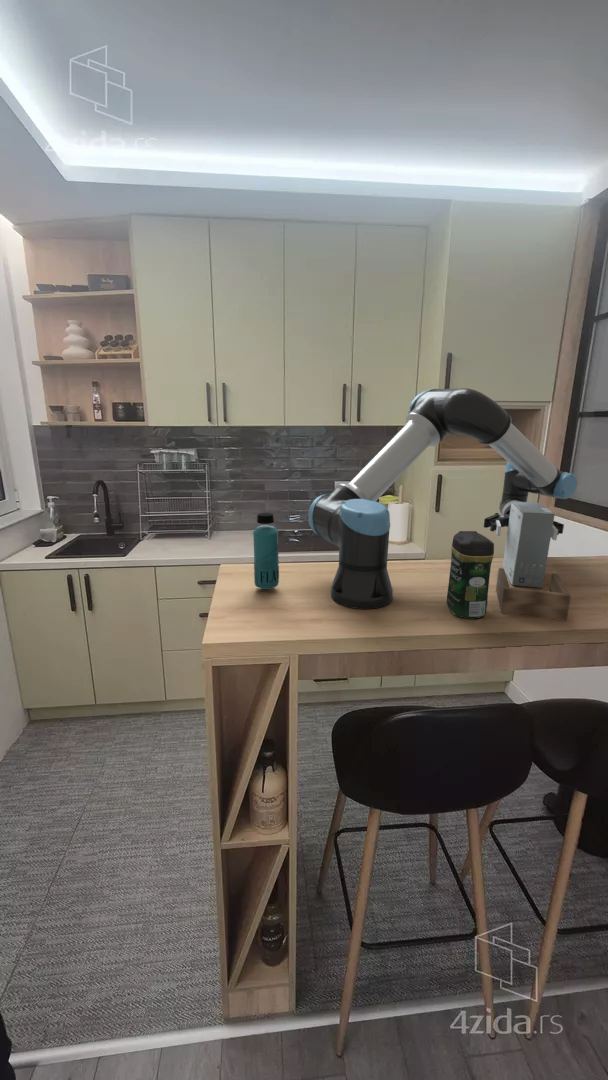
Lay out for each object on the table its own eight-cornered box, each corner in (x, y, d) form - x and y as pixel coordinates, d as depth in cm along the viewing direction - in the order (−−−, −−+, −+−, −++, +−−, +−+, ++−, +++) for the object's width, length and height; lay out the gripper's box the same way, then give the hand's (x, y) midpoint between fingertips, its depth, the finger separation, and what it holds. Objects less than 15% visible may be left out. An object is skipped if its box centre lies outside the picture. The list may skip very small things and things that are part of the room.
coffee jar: (441, 602, 111) (448, 528, 106) (474, 602, 111) (483, 528, 106) (455, 620, 102) (464, 540, 96) (490, 620, 102) (501, 540, 97)
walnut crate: (501, 612, 106) (504, 588, 104) (495, 589, 119) (498, 568, 117) (566, 620, 102) (570, 595, 100) (553, 596, 115) (557, 573, 113)
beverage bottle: (257, 595, 114) (255, 517, 108) (251, 586, 120) (249, 511, 115) (282, 592, 116) (281, 515, 111) (275, 583, 122) (274, 509, 117)
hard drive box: (543, 589, 119) (555, 514, 114) (511, 586, 121) (522, 512, 115) (529, 569, 134) (539, 501, 128) (501, 566, 136) (510, 500, 130)
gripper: (560, 530, 138) (577, 551, 118) (472, 523, 145) (474, 542, 126) (564, 505, 136) (582, 522, 116) (474, 500, 143) (478, 515, 123)
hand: (526, 533), depth 121 cm, fingers open, 13 cm apart
